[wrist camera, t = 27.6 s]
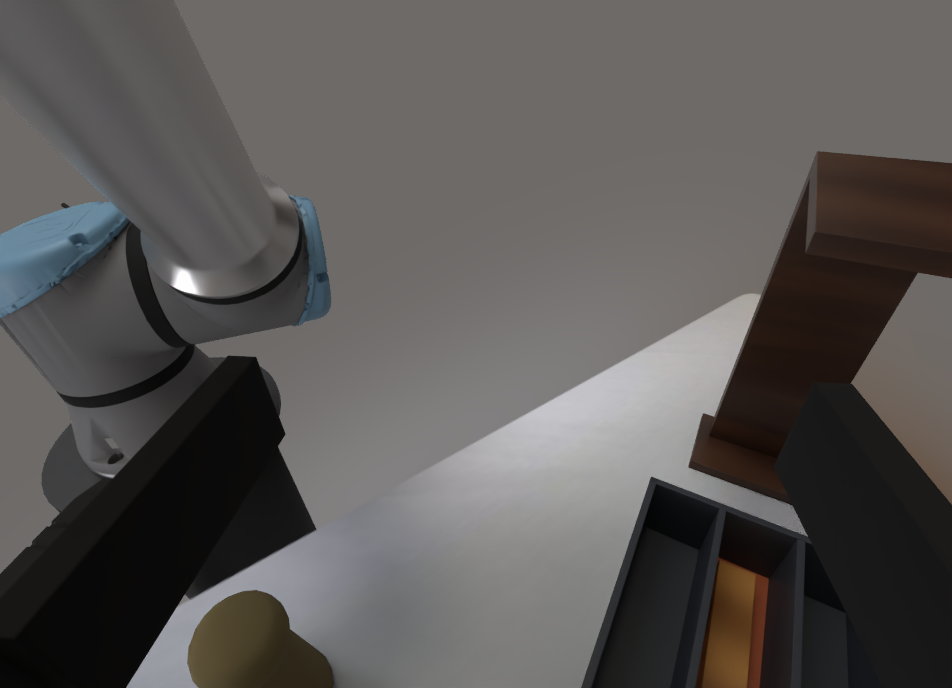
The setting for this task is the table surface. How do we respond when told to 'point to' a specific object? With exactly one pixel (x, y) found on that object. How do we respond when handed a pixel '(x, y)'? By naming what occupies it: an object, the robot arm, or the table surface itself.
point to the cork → (253, 648)
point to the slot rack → (689, 595)
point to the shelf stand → (826, 302)
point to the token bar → (728, 630)
